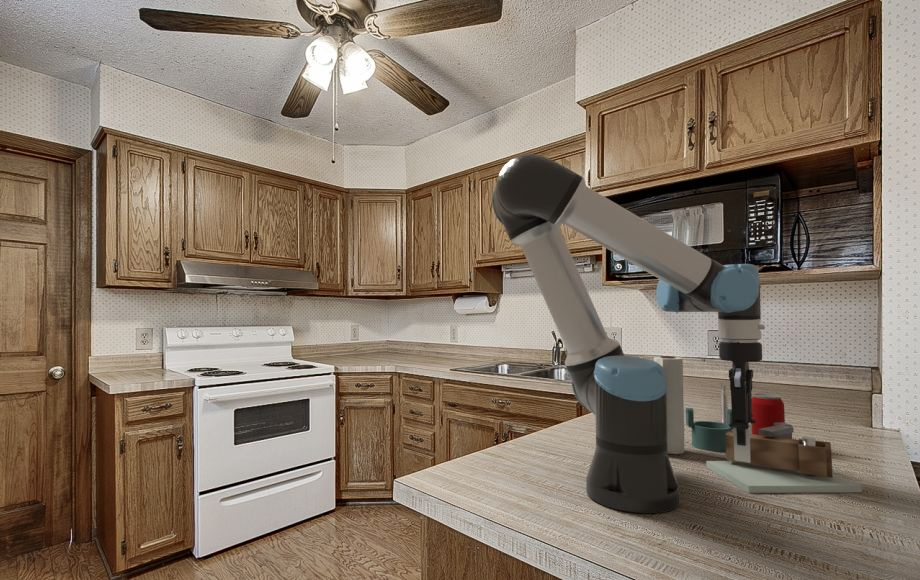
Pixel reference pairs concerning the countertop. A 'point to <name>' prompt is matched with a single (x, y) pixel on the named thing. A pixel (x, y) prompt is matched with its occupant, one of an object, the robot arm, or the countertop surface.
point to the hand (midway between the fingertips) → (743, 458)
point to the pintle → (811, 443)
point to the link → (786, 454)
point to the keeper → (778, 430)
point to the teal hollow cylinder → (709, 432)
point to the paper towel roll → (674, 402)
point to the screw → (723, 403)
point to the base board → (778, 479)
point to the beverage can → (766, 411)
